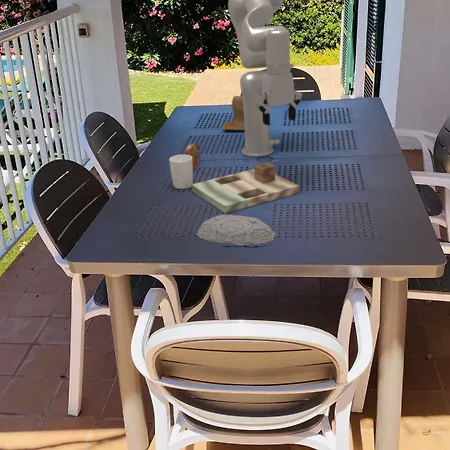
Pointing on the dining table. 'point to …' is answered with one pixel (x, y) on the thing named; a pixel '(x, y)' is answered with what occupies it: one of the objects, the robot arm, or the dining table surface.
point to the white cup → (181, 171)
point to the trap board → (243, 191)
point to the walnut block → (264, 172)
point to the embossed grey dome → (235, 230)
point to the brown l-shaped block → (236, 115)
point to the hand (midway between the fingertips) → (279, 122)
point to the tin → (193, 154)
